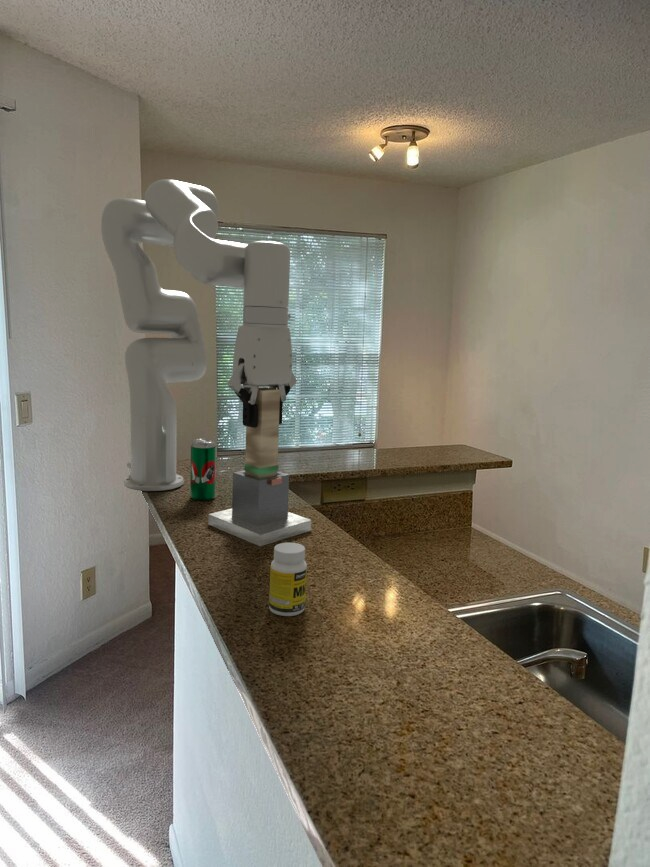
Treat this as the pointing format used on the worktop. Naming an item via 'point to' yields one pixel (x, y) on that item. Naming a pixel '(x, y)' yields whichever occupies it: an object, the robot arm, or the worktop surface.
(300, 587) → the supplement bottle
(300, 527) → the stand base
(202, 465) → the soda can
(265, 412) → the column
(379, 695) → the worktop surface
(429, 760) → the worktop surface
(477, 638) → the worktop surface
